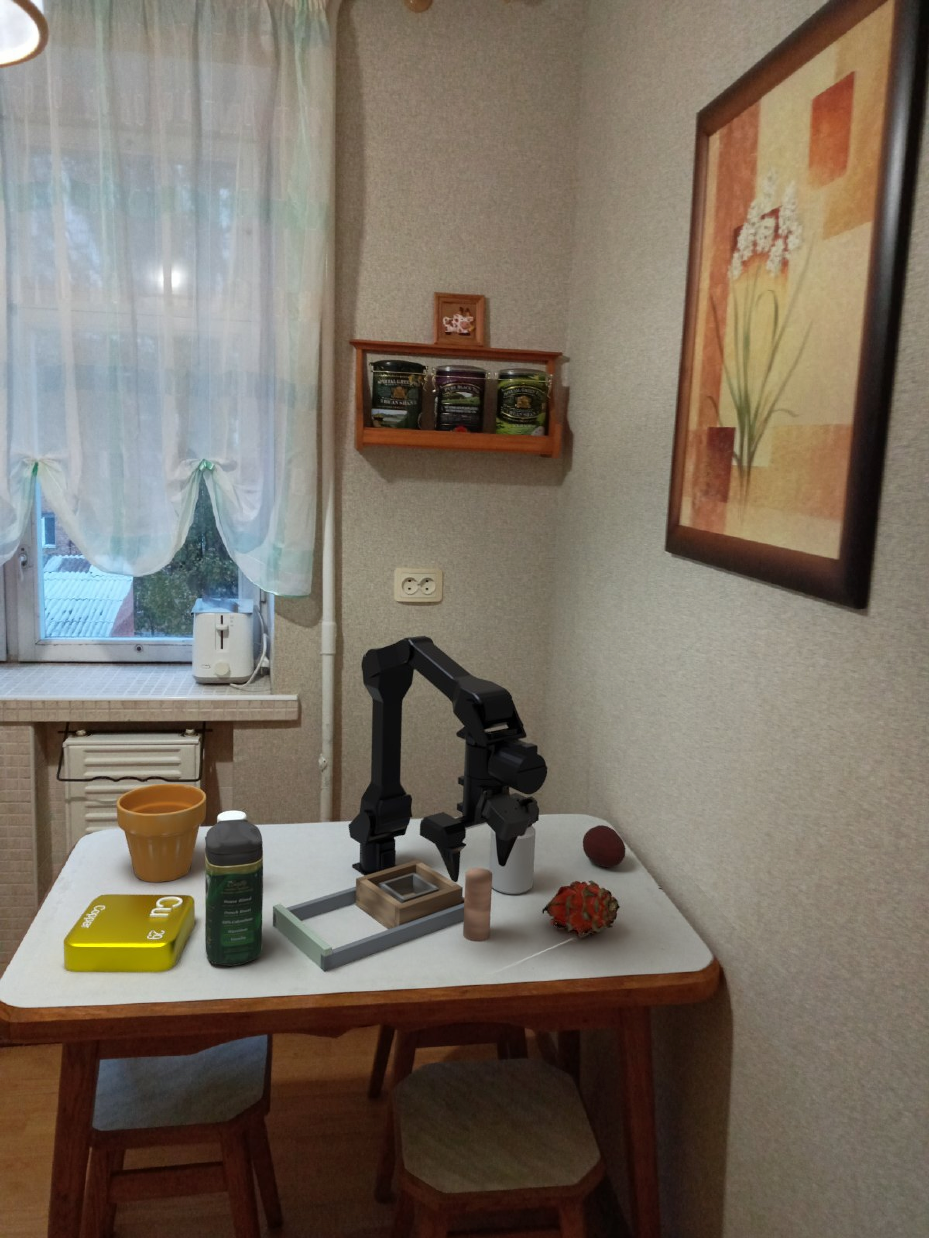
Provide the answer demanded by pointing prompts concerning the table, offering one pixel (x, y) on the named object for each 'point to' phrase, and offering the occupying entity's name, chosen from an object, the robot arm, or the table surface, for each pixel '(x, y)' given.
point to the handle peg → (477, 904)
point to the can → (514, 865)
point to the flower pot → (161, 828)
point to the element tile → (130, 933)
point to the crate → (406, 894)
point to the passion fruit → (604, 846)
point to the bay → (330, 958)
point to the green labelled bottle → (233, 892)
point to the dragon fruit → (582, 908)
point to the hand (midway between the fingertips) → (478, 873)
